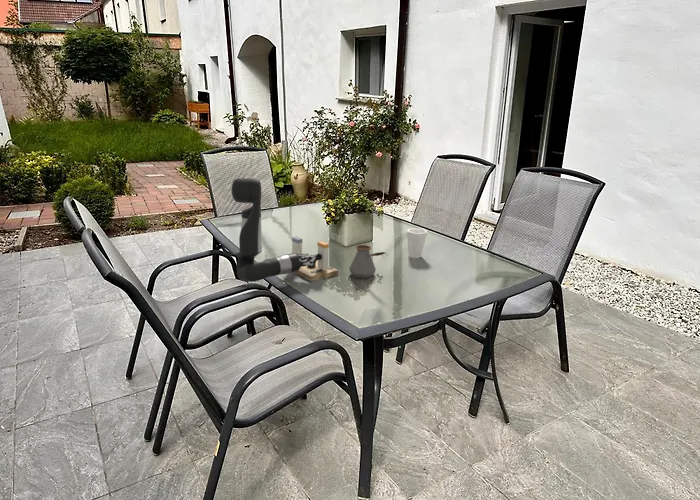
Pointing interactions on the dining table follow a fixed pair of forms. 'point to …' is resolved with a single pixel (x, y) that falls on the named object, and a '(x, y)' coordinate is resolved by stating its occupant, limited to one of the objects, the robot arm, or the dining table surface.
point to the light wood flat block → (316, 272)
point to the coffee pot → (363, 262)
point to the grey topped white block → (297, 245)
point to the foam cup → (416, 242)
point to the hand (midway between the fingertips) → (320, 256)
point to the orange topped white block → (323, 255)
